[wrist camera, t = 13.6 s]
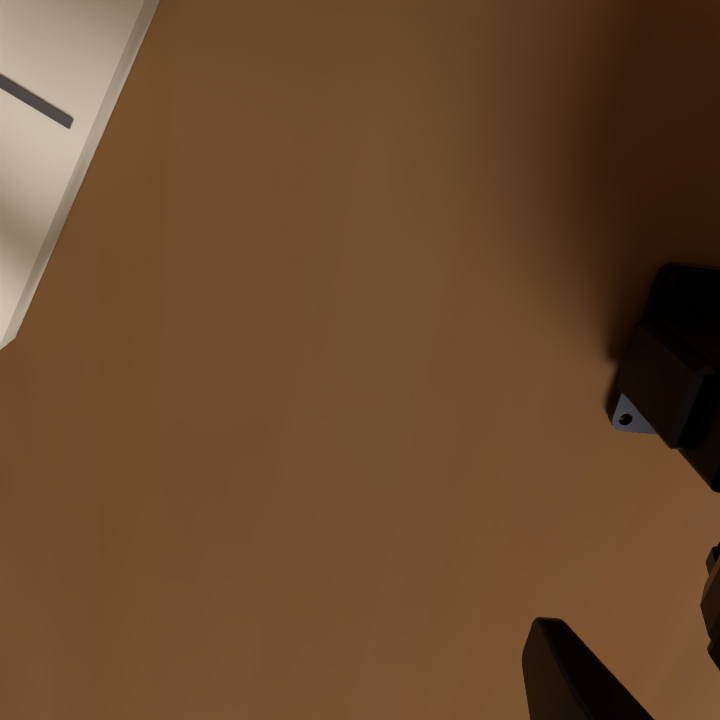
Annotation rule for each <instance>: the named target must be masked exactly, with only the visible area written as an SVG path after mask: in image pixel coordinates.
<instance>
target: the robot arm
mask: <svg viewBox="0 0 720 720" xmlns="http://www.w3.org/2000/svg"><path fill="white" fill-rule="evenodd" d="M674 273H678V278H677V279H676V281H674V282H673V283H669V278H670V277H671V275H673V274H674ZM616 385H617V386H618V387H617V390H616V393H615V396H614V399H613V402H612V405H611V407H610V410H609V414H608V418H609V421H610V422H611V424H612V425H613V426H614V427H615V428H616V429H617V430H620V431H629V432H639V433H650V434H658V435H659V437H660V438H661V439H662V440H663V441H664V443H665V444H666V445H667V446H668V447H669V448H671V449H677V450H678V451H679V452H680V453H681V454H682V456H683V457H684V458H685V459H686V460H687V461H688V463H689V464H690V465H691V466H692V467H693V468H694V469H695V471H696V472H697V473H698V474H699V475H700V476H701V478H702V479H703V480H704V481H705V482H706V483H707V484H708V486H709V487H710V488H711V489H712V490H713V491H715V492H718V493H720V267H714V266H705V265H696V264H688V263H679V262H671V263H668V264H666V265H664V266H663V267H662V268H660V269H659V271H658V273H657V275H656V278H655V281H654V283H653V286H652V289H651V292H650V295H649V298H648V301H647V304H646V307H645V309H644V312H643V315H642V318H641V319H640V320H639V321H638V322H637V323H636V324H635V327H634V330H633V333H632V336H631V339H630V342H629V345H628V348H627V351H626V354H625V356H624V359H623V362H622V365H621V368H620V371H619V374H618V377H617V380H616ZM624 414H628V415H627V417H626V418H624V419H622V420H619V418H620V417H621V416H622V415H624ZM706 566H707V570H708V573H709V577H708V579H707V581H706V583H705V587H704V591H703V595H702V600H701V604H700V607H701V610H702V614H703V618H704V621H705V625H706V629H707V632H708V635H709V637H710V639H711V641H710V643H709V645H708V648H707V650H708V653H709V655H710V657H711V658H712V660H713V661H714V663H715V664H716V666H717V667H718V669H719V670H720V542H719V544H718V546H716V547H713V548H712V549H711V551H710V553H709V555H708V557H707V559H706ZM522 669H523V675H524V682H525V688H526V695H527V701H528V708H529V714H530V720H654V719H653V718H652V717H651V716H650V714H649V713H648V712H647V711H646V710H645V709H644V708H643V707H642V706H641V705H640V703H639V702H638V701H637V700H636V699H635V698H634V697H633V696H632V695H631V694H630V693H629V691H628V690H627V689H626V688H625V687H624V686H623V685H622V684H621V683H620V682H619V681H618V679H617V678H616V677H615V676H614V675H613V674H612V673H611V672H610V671H609V670H608V669H607V667H606V666H605V665H604V664H603V663H602V662H601V661H600V660H599V659H598V658H597V656H596V655H595V654H594V653H593V652H592V651H591V650H590V649H589V648H588V647H587V646H586V644H585V643H584V642H583V641H582V640H581V639H580V638H579V637H578V636H577V635H576V634H575V632H574V631H573V630H572V629H571V628H570V627H569V626H568V625H567V624H566V623H565V622H564V621H563V620H561V619H558V618H547V617H537V618H536V619H535V620H534V621H533V623H532V626H531V629H530V632H529V635H528V638H527V641H526V644H525V646H524V649H523V654H522Z"/></svg>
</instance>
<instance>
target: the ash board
mask: <svg viewBox="0 0 720 720" xmlns="http://www.w3.org/2000/svg"><path fill="white" fill-rule="evenodd" d="M159 1H160V0H0V349H2V348H3V347H4V346H5V345H7V344H8V343H9V342H11V341H12V340H13V339H14V338H15V337H16V335H17V333H18V330H19V328H20V326H21V323H22V321H23V319H24V316H25V314H26V312H27V309H28V307H29V305H30V302H31V300H32V298H33V295H34V293H35V291H36V288H37V286H38V284H39V281H40V279H41V277H42V274H43V272H44V270H45V267H46V265H47V263H48V260H49V258H50V256H51V253H52V251H53V249H54V246H55V244H56V242H57V239H58V237H59V235H60V232H61V230H62V228H63V225H64V223H65V221H66V218H67V216H68V214H69V211H70V209H71V207H72V204H73V202H74V200H75V197H76V195H77V193H78V190H79V188H80V186H81V183H82V181H83V179H84V176H85V174H86V172H87V169H88V167H89V165H90V162H91V160H92V158H93V155H94V153H95V151H96V148H97V146H98V144H99V141H100V139H101V137H102V134H103V132H104V130H105V127H106V125H107V123H108V120H109V118H110V116H111V113H112V111H113V109H114V106H115V104H116V102H117V99H118V97H119V95H120V92H121V90H122V88H123V85H124V83H125V81H126V78H127V76H128V74H129V71H130V69H131V67H132V64H133V62H134V60H135V57H136V55H137V53H138V50H139V48H140V46H141V43H142V41H143V39H144V36H145V34H146V32H147V29H148V27H149V25H150V22H151V20H152V18H153V15H154V13H155V11H156V8H157V6H158V4H159Z"/></svg>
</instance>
